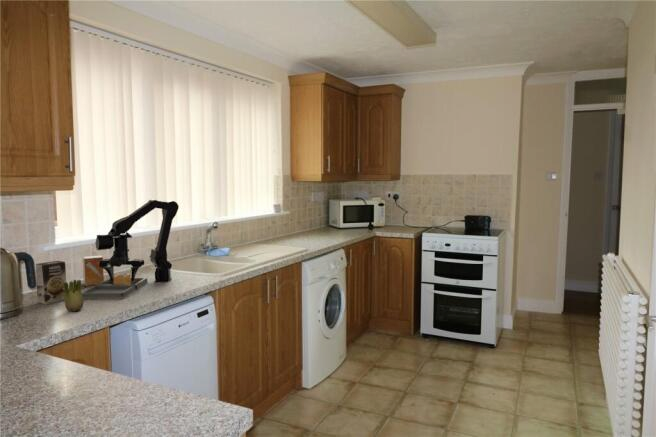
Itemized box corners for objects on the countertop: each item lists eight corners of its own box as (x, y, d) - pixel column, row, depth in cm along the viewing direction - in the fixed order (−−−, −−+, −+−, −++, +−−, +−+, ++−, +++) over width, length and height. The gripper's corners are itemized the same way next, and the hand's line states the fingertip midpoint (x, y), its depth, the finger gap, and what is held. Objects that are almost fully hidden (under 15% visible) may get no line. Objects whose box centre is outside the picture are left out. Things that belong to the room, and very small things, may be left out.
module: (131, 284, 223) (130, 272, 222) (125, 288, 216) (124, 276, 215) (120, 285, 223) (119, 272, 222) (114, 288, 216) (113, 276, 215)
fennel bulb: (64, 313, 179) (62, 281, 177) (68, 309, 183) (66, 279, 182) (81, 312, 180) (79, 281, 179) (84, 308, 185) (83, 278, 183)
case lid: (136, 290, 213) (136, 284, 213) (123, 299, 198) (122, 293, 198) (96, 290, 212) (95, 284, 212) (79, 299, 197) (79, 293, 197)
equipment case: (147, 282, 227) (147, 277, 226) (136, 290, 213) (136, 284, 213) (109, 283, 226) (109, 277, 226) (96, 290, 212) (95, 284, 212)
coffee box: (45, 304, 190) (42, 265, 188) (37, 302, 193) (34, 263, 191) (67, 299, 197) (65, 261, 196) (59, 297, 201) (57, 260, 199)
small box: (85, 286, 220) (83, 258, 219) (83, 283, 226) (82, 256, 224) (104, 283, 225) (103, 256, 223) (102, 281, 230) (100, 254, 229)
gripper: (92, 250, 209) (94, 285, 211) (134, 250, 210) (136, 285, 212) (103, 246, 221) (105, 279, 222) (143, 246, 221) (145, 279, 223)
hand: (122, 281), depth 219 cm, fingers open, 9 cm apart
